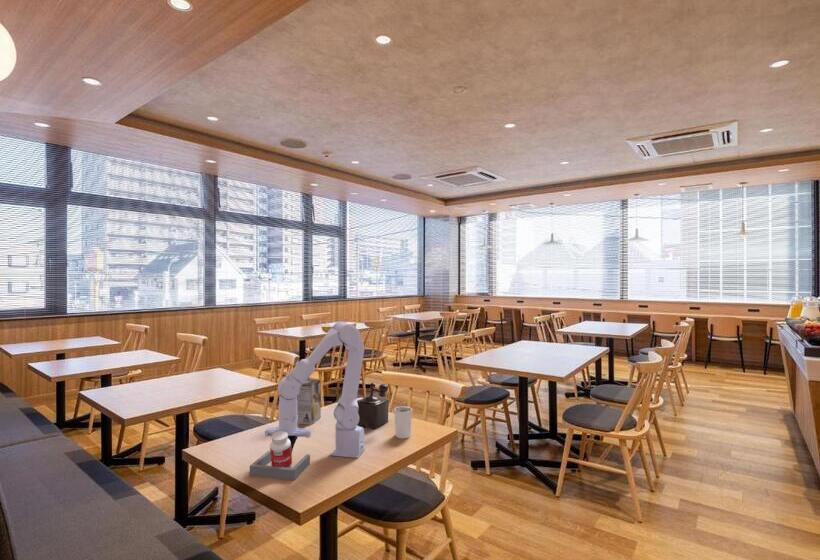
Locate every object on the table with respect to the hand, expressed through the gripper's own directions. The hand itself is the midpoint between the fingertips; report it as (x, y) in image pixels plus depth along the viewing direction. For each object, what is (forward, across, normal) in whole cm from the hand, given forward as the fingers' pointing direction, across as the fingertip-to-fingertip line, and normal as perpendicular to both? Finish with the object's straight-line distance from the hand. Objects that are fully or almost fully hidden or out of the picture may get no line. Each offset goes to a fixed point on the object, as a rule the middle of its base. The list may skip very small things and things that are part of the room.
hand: (287, 458), depth 140 cm
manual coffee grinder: (+2, -23, -37) cm, 44 cm away
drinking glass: (+2, -35, -27) cm, 44 cm away
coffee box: (+2, +5, -40) cm, 40 cm away
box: (+1, 0, +4) cm, 5 cm away
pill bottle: (+1, 0, +4) cm, 4 cm away
